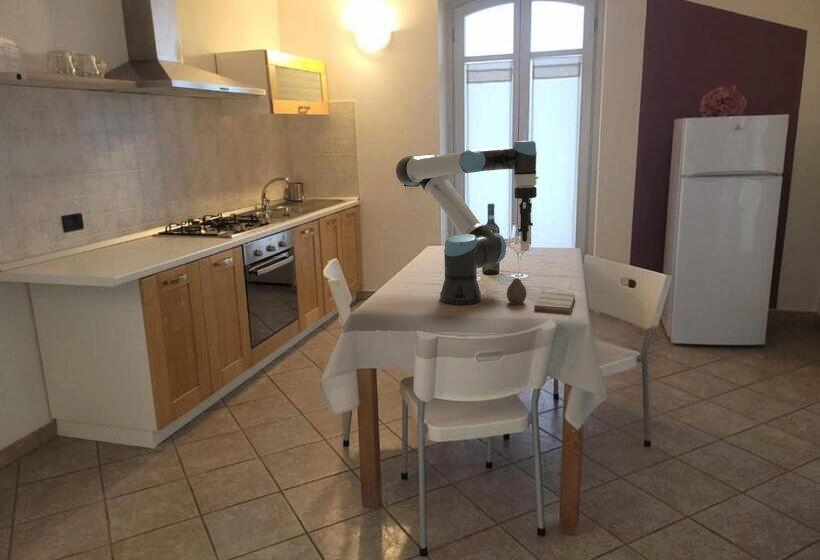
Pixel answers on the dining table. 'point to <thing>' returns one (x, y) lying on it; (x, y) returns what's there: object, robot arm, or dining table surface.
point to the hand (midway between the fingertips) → (526, 247)
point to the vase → (516, 292)
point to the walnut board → (555, 302)
